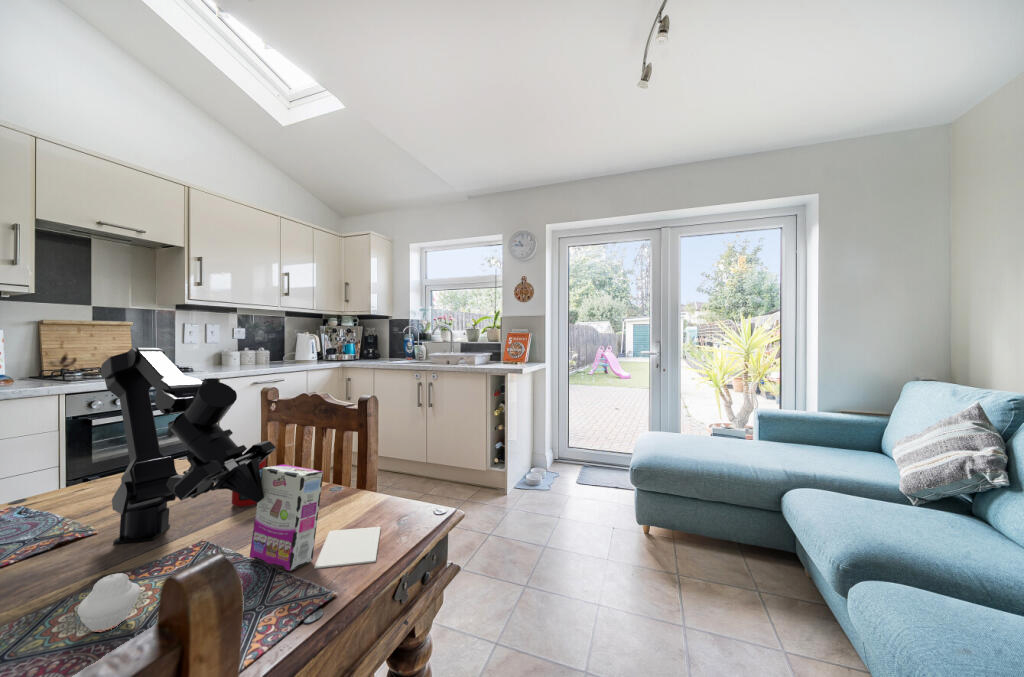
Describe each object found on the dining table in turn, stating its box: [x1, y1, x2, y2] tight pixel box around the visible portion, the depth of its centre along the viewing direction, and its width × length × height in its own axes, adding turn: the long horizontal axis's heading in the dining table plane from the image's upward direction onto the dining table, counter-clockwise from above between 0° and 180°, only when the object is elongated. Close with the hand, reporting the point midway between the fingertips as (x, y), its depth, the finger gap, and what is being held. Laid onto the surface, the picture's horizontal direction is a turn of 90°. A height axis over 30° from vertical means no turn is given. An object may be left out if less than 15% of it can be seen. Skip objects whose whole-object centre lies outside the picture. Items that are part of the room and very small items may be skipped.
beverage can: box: [231, 458, 267, 508], centre depth 96 cm, size 7×7×12 cm
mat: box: [314, 526, 382, 569], centre depth 77 cm, size 10×14×1 cm
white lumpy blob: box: [76, 572, 141, 631], centre depth 54 cm, size 6×6×7 cm
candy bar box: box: [249, 464, 325, 572], centre depth 72 cm, size 11×5×16 cm, turn 68°
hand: (260, 500), depth 71 cm, fingers closed
